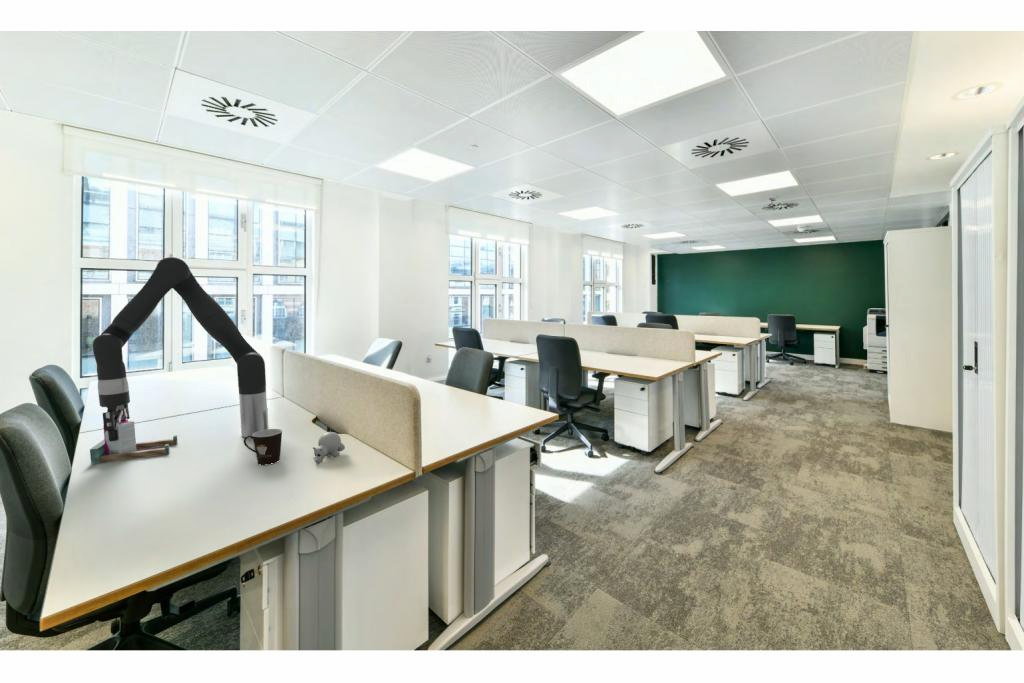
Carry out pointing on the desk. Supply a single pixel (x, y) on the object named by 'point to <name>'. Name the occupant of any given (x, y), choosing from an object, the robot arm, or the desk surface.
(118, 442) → the supplement box
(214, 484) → the desk surface
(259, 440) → the coffee mug
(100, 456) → the guide lane
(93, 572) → the desk surface
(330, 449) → the chubby cartoon animal
